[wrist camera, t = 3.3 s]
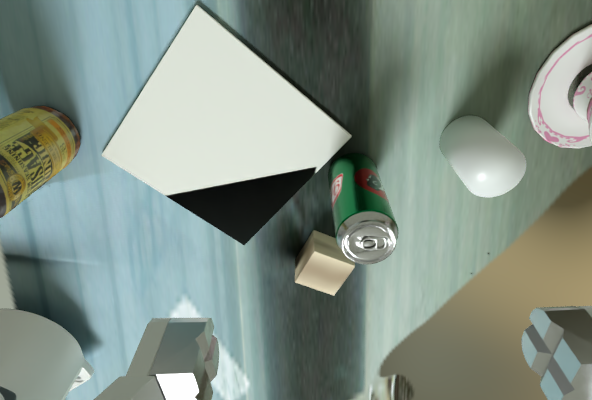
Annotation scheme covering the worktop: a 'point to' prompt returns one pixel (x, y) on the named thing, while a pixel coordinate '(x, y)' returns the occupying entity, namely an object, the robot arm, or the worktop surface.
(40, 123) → the sauce bottle
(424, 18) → the worktop surface
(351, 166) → the soda can
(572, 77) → the teacup
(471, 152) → the grey cylinder
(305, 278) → the birch block
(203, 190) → the mat
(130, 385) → the robot arm
